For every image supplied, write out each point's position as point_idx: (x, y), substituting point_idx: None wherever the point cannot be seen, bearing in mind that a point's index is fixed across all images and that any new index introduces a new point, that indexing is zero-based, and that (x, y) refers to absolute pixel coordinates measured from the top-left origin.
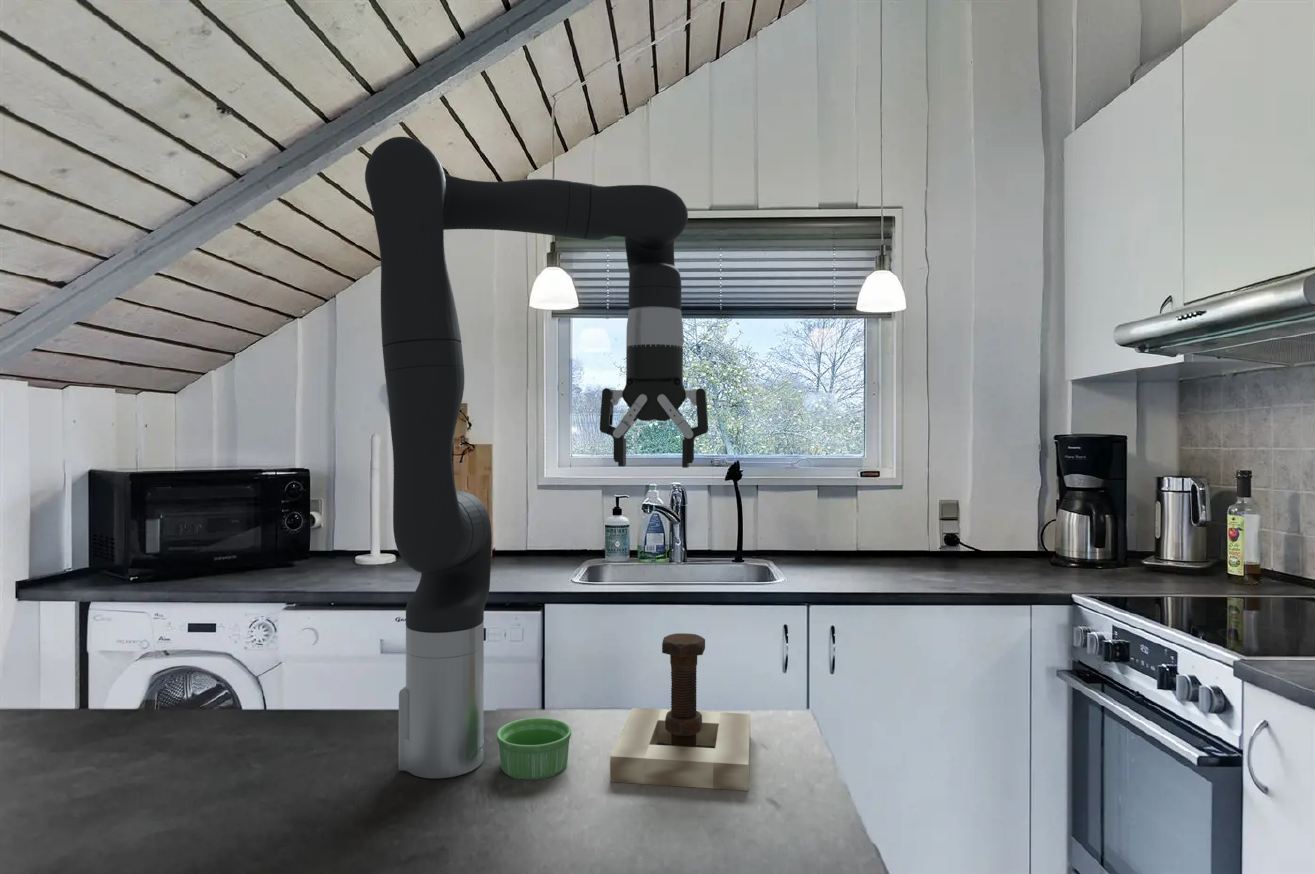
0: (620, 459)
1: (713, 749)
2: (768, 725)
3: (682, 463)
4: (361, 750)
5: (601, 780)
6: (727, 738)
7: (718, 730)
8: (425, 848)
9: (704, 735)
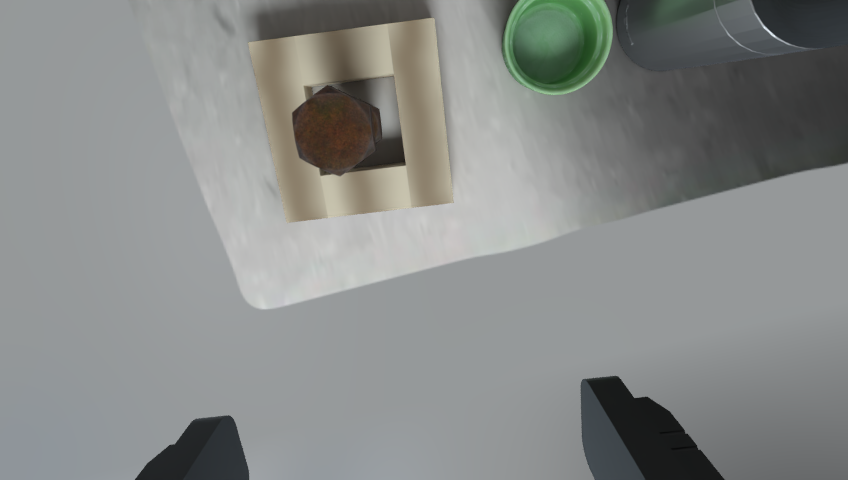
0: (614, 395)
1: (304, 80)
2: (280, 257)
3: (217, 423)
4: None
5: (445, 24)
6: None
7: None
8: None
9: None
